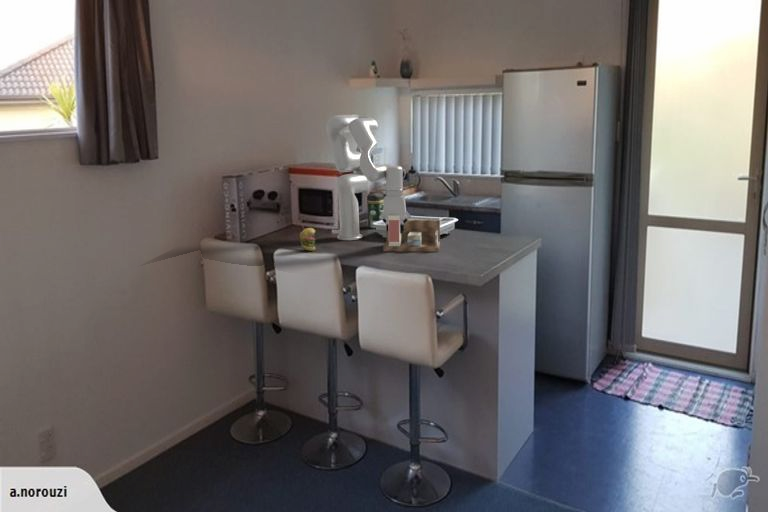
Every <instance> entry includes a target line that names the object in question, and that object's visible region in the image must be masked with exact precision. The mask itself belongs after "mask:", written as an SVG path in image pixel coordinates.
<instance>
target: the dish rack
mask: <svg viewBox="0 0 768 512" xmlns="http://www.w3.org/2000/svg"><path fill="white" fill-rule="evenodd" d="M410 216H411V218H410V219H409V220H440V236H441V235H443V234H444V235H445V234H447V235H448V234H449V232H451V231H452V230H455V223H456V222H458V221H459V219H458V218H456V217H446V216H445V217H437V216H421V215H410ZM405 218H407V216H406V217H405ZM405 218H403V219H405ZM385 219H386V218H385ZM386 220H387V219H386ZM372 224H373V225H376V228H375V232H376V233H377V234H379V235H380V236H382V238H386V223H385V222H384V221H383V220H380V221H377V222H374V223H372Z"/></svg>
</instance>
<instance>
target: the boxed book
mask: <svg viewBox="0 0 768 512" xmlns="http://www.w3.org/2000/svg"><path fill="white" fill-rule="evenodd" d="M400 225H401V221H400V215H388V230H389V246H400V245H401V243H402V233H400Z"/></svg>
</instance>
